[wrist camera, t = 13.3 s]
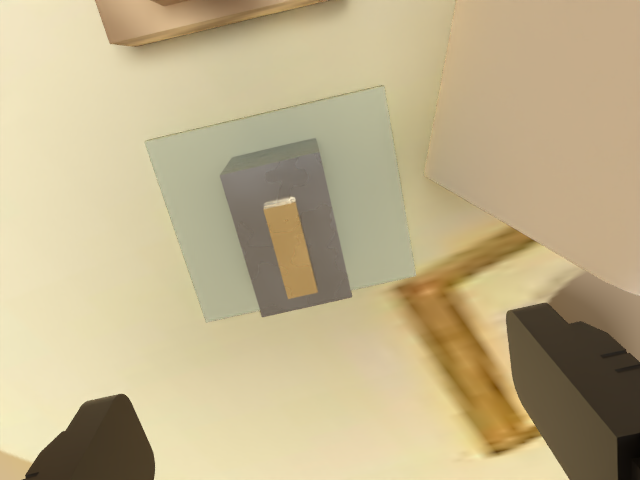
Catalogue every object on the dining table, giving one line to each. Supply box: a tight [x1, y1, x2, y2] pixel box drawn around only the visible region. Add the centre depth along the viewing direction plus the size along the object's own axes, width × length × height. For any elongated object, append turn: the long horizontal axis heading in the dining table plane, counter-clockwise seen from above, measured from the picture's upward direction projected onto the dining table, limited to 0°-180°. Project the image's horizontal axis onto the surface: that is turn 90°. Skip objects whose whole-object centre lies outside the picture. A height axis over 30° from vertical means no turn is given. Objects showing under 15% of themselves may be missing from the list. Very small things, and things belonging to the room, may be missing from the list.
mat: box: [145, 86, 416, 322], centre depth 30 cm, size 14×12×1 cm
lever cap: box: [220, 138, 352, 317], centre depth 27 cm, size 5×8×6 cm, turn 13°
